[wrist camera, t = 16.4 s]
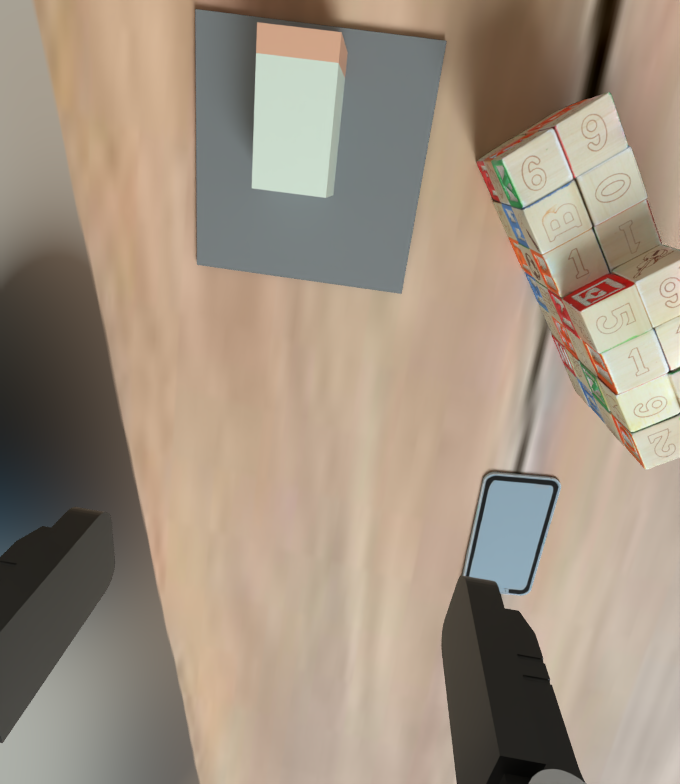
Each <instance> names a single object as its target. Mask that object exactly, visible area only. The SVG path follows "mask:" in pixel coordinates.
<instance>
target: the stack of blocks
mask: <svg viewBox="0 0 680 784" xmlns="http://www.w3.org/2000/svg"><path fill="white" fill-rule="evenodd" d="M476 163H477V165H478V168H479V170H480V172H481V174H482V176H483V178H484V180H485V183H486V185H487V187H488V189H489V191H490V194H491V196H492V198H493V199H494V201H493V203H494V206H495V208H496V210H497V213H498V215H499V217H500V219H501V222H502V224H503V226H504V228H505V231H506V233H507V235H508V236H509V240H510V242H511V245H512V247H513V249H514V251H515V254H516V256H517V258H518V261H519V263H520V265H521V268H522V269H523V271H525V274H526V276H527V279H528V281H529V283H530V285H531V288H532V290H533V292H534V295H535V297H536V299H537V301H538V303H539V305H540V308H541V310H542V312H543V314H544V317H545V319H546V321H547V324H548V326H549V328H550V330H551V332H552V337H553V339H554V342H555V344H556V346H557V349H558V351H559V353H560V356H561V358H562V360H563V363H564V365H565V368H566V370H567V373H568V375H569V377H570V380H571V382H572V384H573V387H574V389H575V391H576V393H577V394H578V395H579V396H580V397H581V398H582V399H583V400H584V402H585V403H586V404H587V405H588V406H589V407H591V408H592V410H593V411H594V412H595V413H596V414H597V415H598V416H599V417H600V418H601V420H602V421H603V422H604V423H605V424H606V426H607V427H608V429H609V430H610V431H611V432H612V433H613V434H614V436H615V437H616V438H617V439H618V440H619V441H620V442H621V443H622V444H623V445H624V446H625V447H626V448H627V449H628V451H629V452H630V453H631V454H632V455H633V456H634V457H635V458H636V460H637V461H638V462H639V463H640V464H641V465H642V466H643V468H645V469H650V468H653V467H655V466H658V465H660V464H663V463H666V462H668V461H671V460H674V459H676V458H679V457H680V250H679V249H675V248H672V247H668V246H665V245H662V242H661V239H660V236H659V233H658V230H657V228H656V225H655V222H654V219H653V216H652V213H651V210H650V207H649V204H648V201H647V192H646V189H645V186H644V183H643V180H642V177H641V174H640V171H639V168H638V165H637V162H636V159H635V157H634V154H633V151H632V148H631V147H630V146H628V144H627V140H626V136H625V133H624V130H623V128H622V125H621V122H620V119H619V115H618V113H617V110H616V107H615V104H614V101H613V98H612V95H611V93H610V92H608V93H605V94H602V95H599V96H596V97H593V98H590V99H585V100H582V101H580V102H577V103H575V104H572V105H570V106H568V107H566V108H563V109H561V110H558V111H556V112H554V113H552V114H551V115H549V116H548V117H546V118H544V119H543V120H541V121H540V122H538V123H536V124H535V125H533V126H532V127H530V128H528V129H527V130H525V131H524V132H522V133H520V134H519V135H517V136H516V137H514V138H512V139H510V140H508V141H507V142H505V143H504V144H502V145H500V146H499V147H497V148H495V149H494V150H492V151H491V152H489V153H488V154H486V155H485V156H483V157H482V158H480V159H479V160H478V161H477V162H476Z"/></svg>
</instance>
